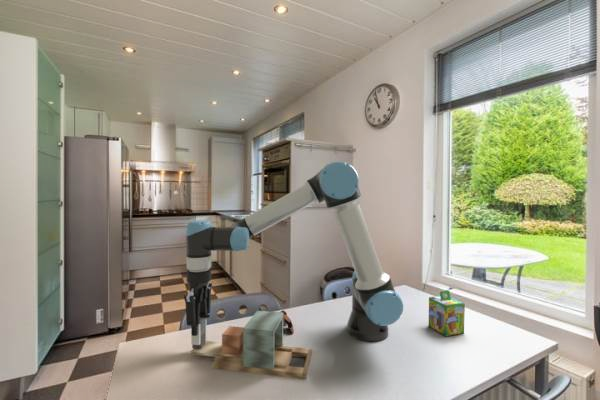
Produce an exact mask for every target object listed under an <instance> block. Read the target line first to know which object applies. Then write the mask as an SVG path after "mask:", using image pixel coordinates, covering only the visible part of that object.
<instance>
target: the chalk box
mask: <svg viewBox="0 0 600 400" xmlns="http://www.w3.org/2000/svg"><path fill="white" fill-rule="evenodd" d="M444 294H446V295H444ZM465 305H466V304H465V303H464V302H462V301H460V300H458V299H456V298H453V297H451V293H450V290H440V291H439V295H438V296H430V297H428V325H427V326H428V327H430V328H431V329H433V330H434V331H437V332H438V333H440V334H442V335H443V336H445V337H448V336H453V335H461V334H465V312H466V311H465Z"/></svg>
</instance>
